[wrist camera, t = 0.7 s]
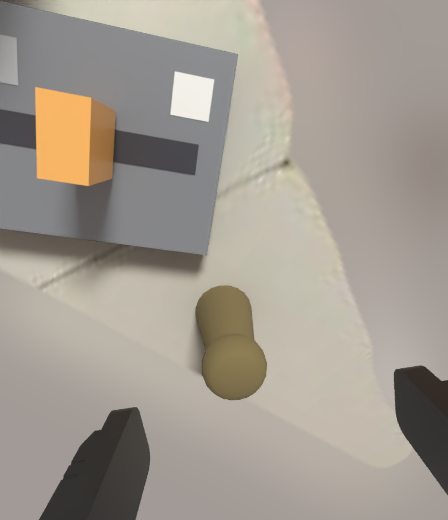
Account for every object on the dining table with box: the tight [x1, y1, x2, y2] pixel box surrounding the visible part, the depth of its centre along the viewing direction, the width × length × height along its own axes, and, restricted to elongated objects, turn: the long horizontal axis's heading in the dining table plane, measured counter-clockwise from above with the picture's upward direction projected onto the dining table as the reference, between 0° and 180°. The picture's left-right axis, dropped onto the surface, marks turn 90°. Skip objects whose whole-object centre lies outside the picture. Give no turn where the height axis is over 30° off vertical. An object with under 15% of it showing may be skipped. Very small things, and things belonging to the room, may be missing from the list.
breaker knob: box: [35, 87, 116, 186], centre depth 21 cm, size 3×5×6 cm, turn 171°
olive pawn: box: [196, 286, 267, 400], centre depth 28 cm, size 6×6×11 cm
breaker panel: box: [0, 1, 238, 255], centre depth 26 cm, size 20×16×3 cm
